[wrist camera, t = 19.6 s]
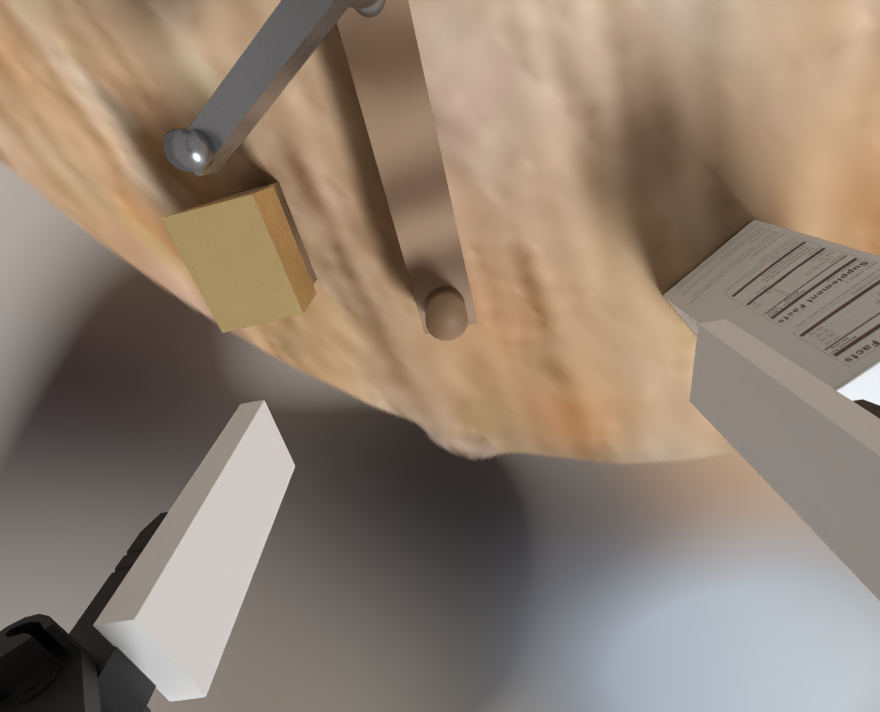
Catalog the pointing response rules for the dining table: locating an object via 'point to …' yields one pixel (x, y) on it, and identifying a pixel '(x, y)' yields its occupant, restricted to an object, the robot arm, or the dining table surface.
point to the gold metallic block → (243, 259)
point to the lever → (254, 83)
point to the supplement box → (794, 302)
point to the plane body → (409, 160)
